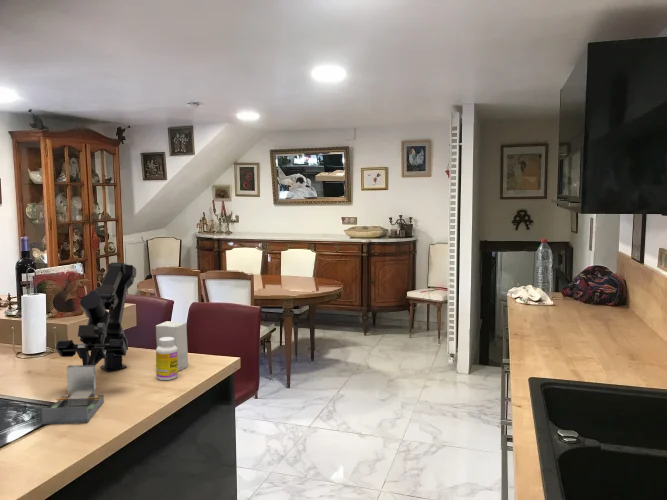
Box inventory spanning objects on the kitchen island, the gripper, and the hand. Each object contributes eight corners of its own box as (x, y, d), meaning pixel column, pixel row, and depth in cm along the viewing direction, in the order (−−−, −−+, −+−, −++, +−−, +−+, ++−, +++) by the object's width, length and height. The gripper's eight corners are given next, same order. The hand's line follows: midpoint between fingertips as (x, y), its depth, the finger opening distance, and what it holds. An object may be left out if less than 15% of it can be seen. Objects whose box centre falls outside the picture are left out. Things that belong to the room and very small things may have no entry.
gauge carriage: (61, 400, 148) (60, 365, 147) (104, 398, 150) (103, 364, 149) (55, 406, 144) (54, 370, 143) (99, 404, 146) (98, 369, 144)
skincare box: (188, 366, 181) (188, 322, 180) (177, 372, 175) (176, 326, 174) (168, 363, 184) (167, 320, 183) (156, 369, 178) (155, 324, 176)
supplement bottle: (171, 381, 167) (170, 342, 165) (152, 380, 168) (151, 340, 167) (181, 374, 173) (181, 336, 172) (163, 373, 175) (162, 335, 173)
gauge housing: (62, 403, 149) (62, 389, 148) (103, 401, 150) (103, 388, 150) (42, 424, 135) (41, 409, 134) (87, 422, 136) (86, 407, 136)
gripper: (56, 313, 154) (42, 361, 144) (123, 312, 156) (113, 360, 146) (67, 332, 162) (54, 380, 152) (130, 331, 165) (122, 378, 155)
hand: (85, 374), depth 151 cm, fingers closed
